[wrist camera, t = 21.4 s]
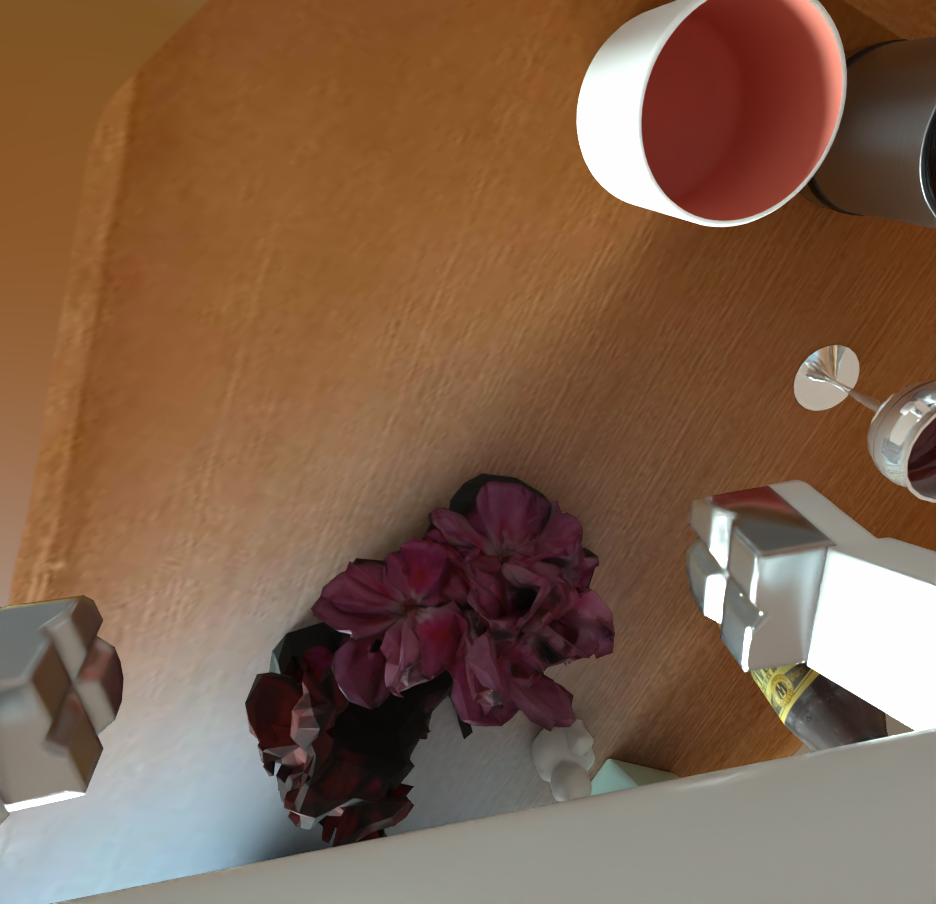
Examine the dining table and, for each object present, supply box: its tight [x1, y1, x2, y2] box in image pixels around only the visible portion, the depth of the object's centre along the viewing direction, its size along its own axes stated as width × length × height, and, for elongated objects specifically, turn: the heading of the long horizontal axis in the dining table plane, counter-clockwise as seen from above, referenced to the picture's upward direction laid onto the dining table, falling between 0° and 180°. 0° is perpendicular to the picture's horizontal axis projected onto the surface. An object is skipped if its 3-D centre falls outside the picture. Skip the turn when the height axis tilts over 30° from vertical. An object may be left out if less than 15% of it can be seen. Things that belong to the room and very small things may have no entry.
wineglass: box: [794, 345, 936, 503], centre depth 43 cm, size 7×7×12 cm
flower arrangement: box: [245, 474, 615, 847], centre depth 46 cm, size 31×20×15 cm, turn 145°
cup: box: [577, 0, 847, 227], centre depth 35 cm, size 10×10×10 cm
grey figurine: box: [532, 720, 595, 802], centre depth 57 cm, size 5×7×8 cm
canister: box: [800, 36, 936, 229], centre depth 36 cm, size 9×9×12 cm
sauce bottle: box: [717, 622, 888, 752], centre depth 48 cm, size 6×6×20 cm
